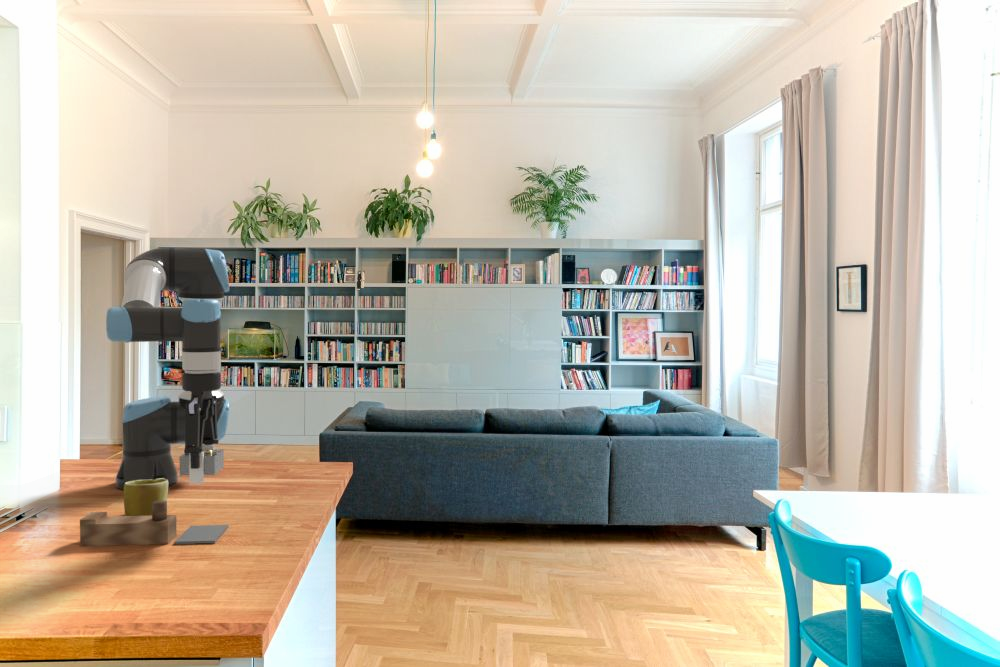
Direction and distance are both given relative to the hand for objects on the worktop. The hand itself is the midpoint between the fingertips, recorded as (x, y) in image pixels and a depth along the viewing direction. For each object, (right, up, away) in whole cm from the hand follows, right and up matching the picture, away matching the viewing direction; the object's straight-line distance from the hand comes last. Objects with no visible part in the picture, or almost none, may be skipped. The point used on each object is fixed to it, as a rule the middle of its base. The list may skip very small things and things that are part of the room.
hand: (202, 478), depth 143 cm
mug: (-19, -12, +15) cm, 27 cm away
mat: (0, -12, +1) cm, 12 cm away
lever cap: (0, +2, 0) cm, 2 cm away
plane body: (-14, -12, -3) cm, 19 cm away
